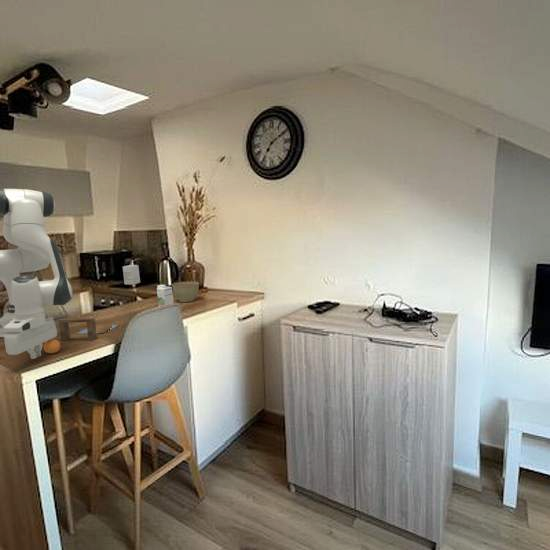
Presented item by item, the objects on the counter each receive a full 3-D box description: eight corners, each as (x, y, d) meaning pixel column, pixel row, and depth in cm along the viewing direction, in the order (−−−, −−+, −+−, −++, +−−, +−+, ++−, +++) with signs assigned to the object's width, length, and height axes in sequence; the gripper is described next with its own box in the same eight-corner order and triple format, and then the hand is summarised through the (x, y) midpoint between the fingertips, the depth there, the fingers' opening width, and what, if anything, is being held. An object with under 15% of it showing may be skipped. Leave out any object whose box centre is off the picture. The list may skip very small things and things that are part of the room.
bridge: (93, 340, 153) (90, 319, 152) (61, 340, 155) (58, 319, 153) (97, 338, 156) (94, 317, 155) (66, 338, 158) (63, 317, 156)
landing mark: (76, 333, 163) (76, 333, 163) (93, 325, 176) (93, 325, 176) (103, 333, 162) (103, 333, 162) (118, 325, 175) (118, 324, 175)
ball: (41, 355, 137) (38, 341, 136) (51, 350, 143) (49, 337, 142) (54, 355, 137) (52, 341, 136) (64, 350, 142) (62, 337, 141)
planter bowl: (197, 303, 216) (195, 285, 214) (170, 304, 216) (168, 286, 214) (202, 297, 232) (201, 280, 230) (177, 298, 232) (175, 281, 230)
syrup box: (174, 313, 194) (172, 286, 192) (165, 315, 189) (163, 288, 187) (167, 312, 197) (165, 285, 195) (158, 314, 192) (156, 287, 190)
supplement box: (131, 282, 304) (129, 264, 302) (140, 282, 301) (138, 264, 299) (124, 284, 296) (122, 266, 293) (133, 284, 293) (131, 266, 290)
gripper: (44, 313, 140) (49, 347, 143) (-2, 329, 120) (4, 368, 122) (59, 313, 140) (63, 347, 142) (15, 329, 120) (21, 368, 122)
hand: (36, 357), depth 132 cm, fingers closed
